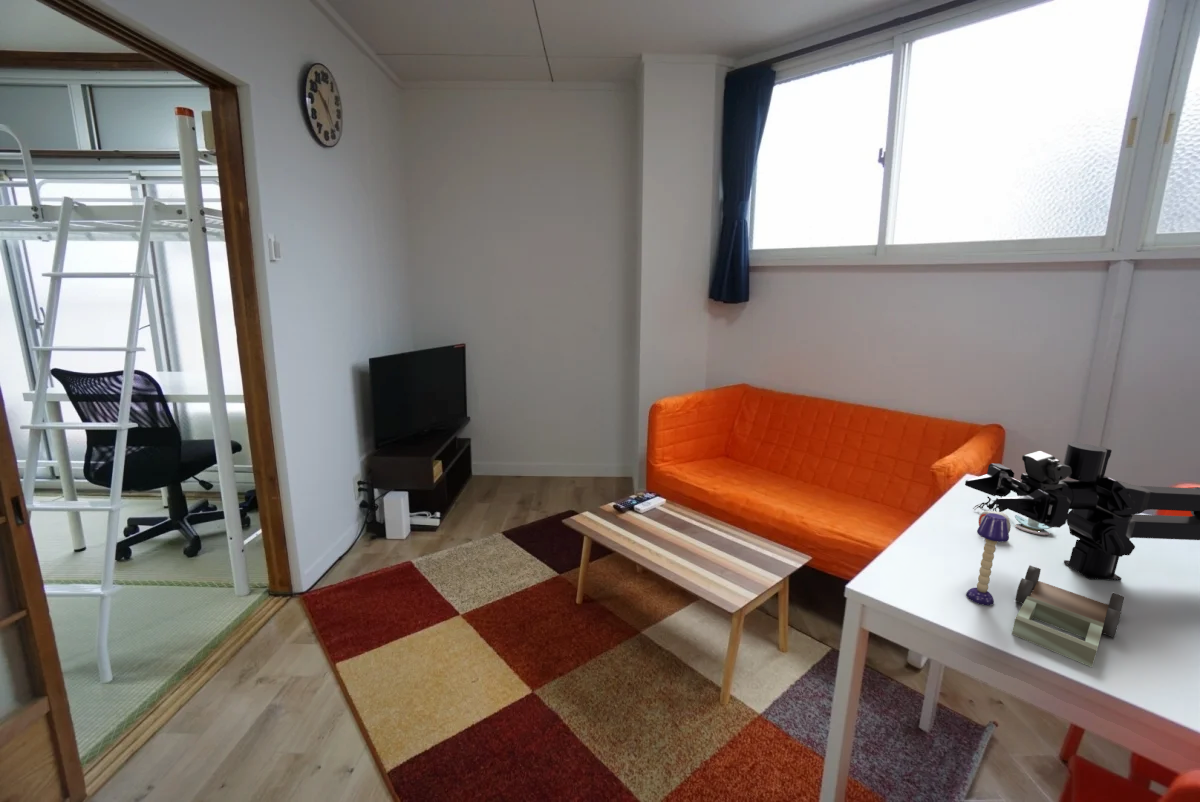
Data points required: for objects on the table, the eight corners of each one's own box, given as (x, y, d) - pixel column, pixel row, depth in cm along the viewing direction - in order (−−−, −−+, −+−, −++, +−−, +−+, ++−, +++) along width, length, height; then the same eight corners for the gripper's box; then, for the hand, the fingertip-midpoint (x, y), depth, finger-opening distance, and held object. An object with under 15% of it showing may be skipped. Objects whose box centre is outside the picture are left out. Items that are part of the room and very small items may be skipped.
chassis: (1026, 582, 102) (1031, 562, 101) (1119, 614, 93) (1125, 592, 92) (999, 629, 88) (1005, 606, 87) (1106, 673, 78) (1113, 648, 77)
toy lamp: (958, 591, 99) (974, 510, 95) (980, 590, 99) (998, 510, 95) (978, 606, 94) (996, 522, 90) (1001, 605, 94) (1020, 522, 91)
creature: (981, 522, 131) (1017, 519, 129) (980, 502, 130) (1016, 499, 128) (966, 509, 139) (1000, 506, 137) (965, 490, 138) (999, 487, 136)
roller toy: (994, 529, 125) (999, 507, 123) (1011, 542, 118) (1017, 519, 117) (974, 528, 125) (979, 506, 124) (991, 541, 119) (996, 518, 118)
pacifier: (1051, 540, 121) (1051, 530, 125) (1057, 515, 119) (1057, 507, 123) (1011, 530, 125) (1013, 521, 130) (1016, 506, 124) (1018, 498, 128)
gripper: (1033, 441, 111) (958, 439, 111) (1112, 473, 93) (1022, 470, 93) (1022, 490, 113) (949, 488, 114) (1098, 530, 95) (1010, 527, 96)
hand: (980, 491), depth 104 cm, fingers open, 9 cm apart
